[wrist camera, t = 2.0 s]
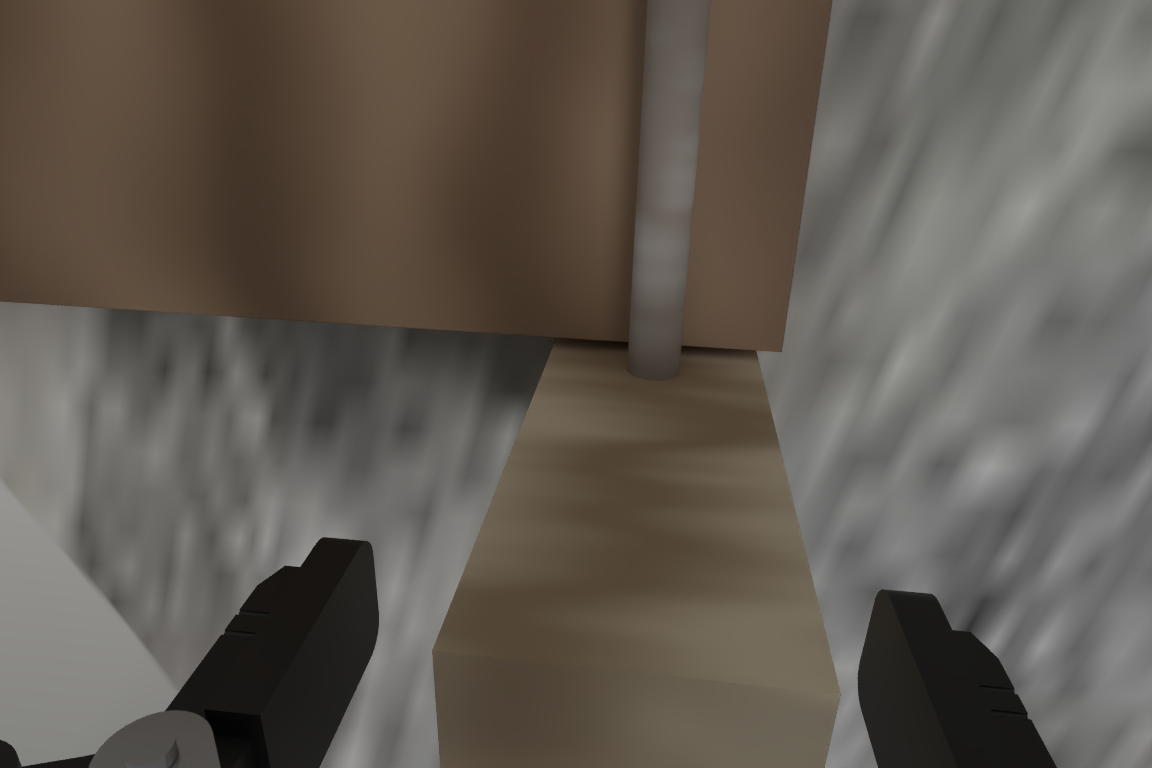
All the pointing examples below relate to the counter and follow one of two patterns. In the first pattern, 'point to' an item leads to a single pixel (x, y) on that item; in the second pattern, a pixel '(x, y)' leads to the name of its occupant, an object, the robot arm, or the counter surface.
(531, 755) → the marking gauge
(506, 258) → the walnut board
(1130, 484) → the counter surface
